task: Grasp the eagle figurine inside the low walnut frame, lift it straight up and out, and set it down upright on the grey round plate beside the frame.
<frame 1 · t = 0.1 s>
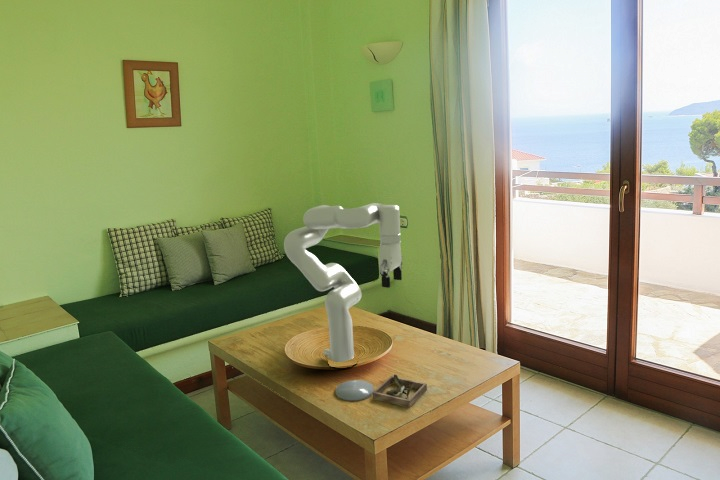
hand: (392, 283, 219), 37 cm above the table, tool pointing down, fingers open, 9 cm apart
eagle figurine: (399, 395, 211), on the table
walnut frame: (400, 394, 211), on the table
grey round plate: (354, 391, 215), on the table
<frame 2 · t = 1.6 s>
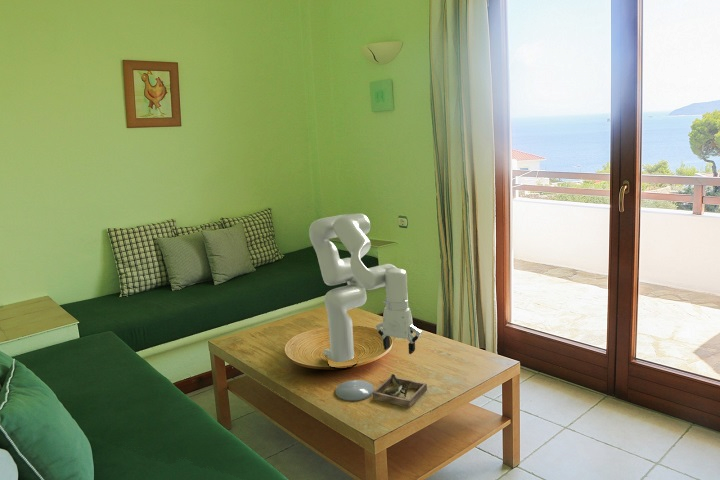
hand: (399, 350, 207), 17 cm above the table, tool pointing down, fingers open, 9 cm apart
nothing on the table moved.
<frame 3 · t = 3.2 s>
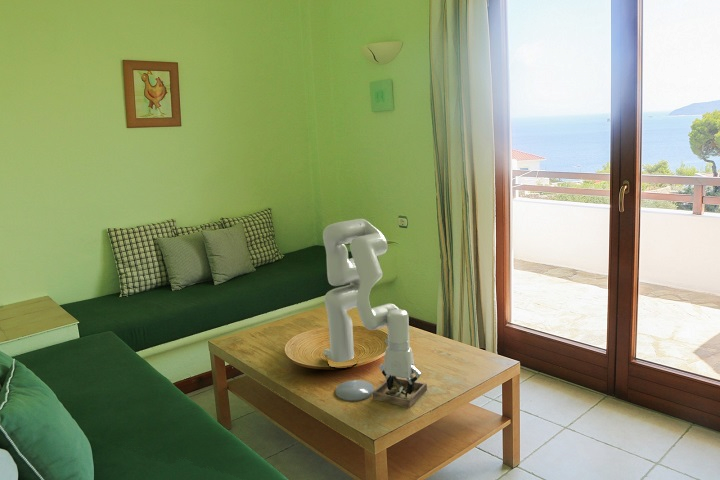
hand: (400, 390, 210), 2 cm above the table, tool pointing down, fingers closed on eagle figurine, 7 cm apart
eagle figurine: (397, 395, 211), on the table, touching gripper
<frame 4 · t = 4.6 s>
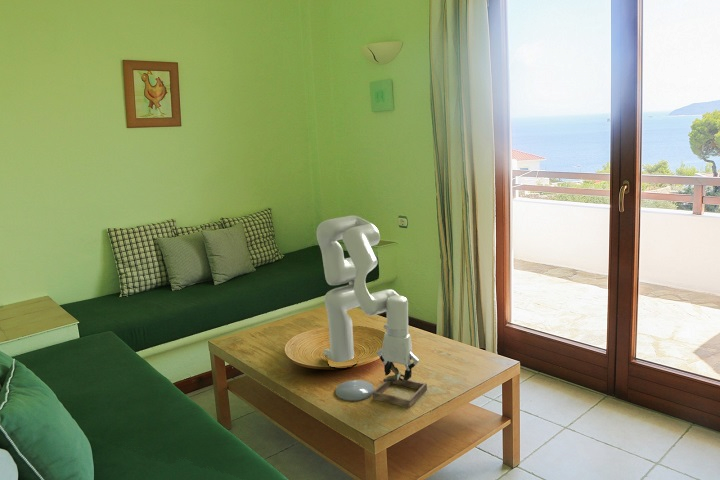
hand: (397, 376, 210), 7 cm above the table, tool pointing down, fingers closed on eagle figurine, 7 cm apart
eagle figurine: (395, 382, 211), point 4 cm above the table, touching gripper
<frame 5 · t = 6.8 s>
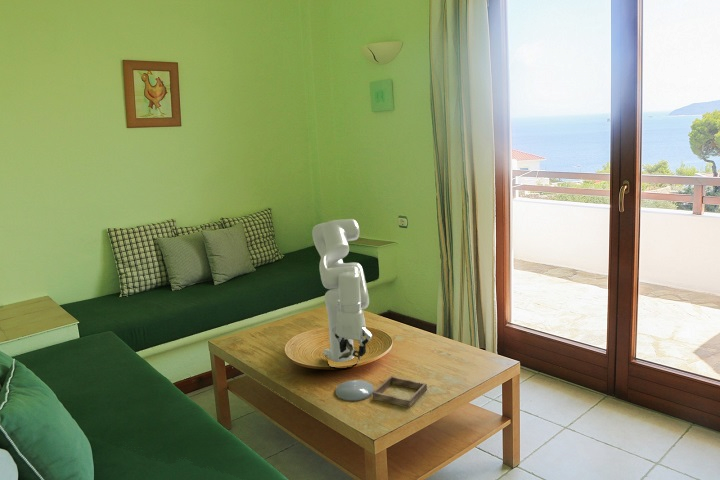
hand: (352, 352, 211), 15 cm above the table, tool pointing down, fingers closed on eagle figurine, 7 cm apart
eagle figurine: (351, 358, 212), point 13 cm above the table, touching gripper
when the fingers open (4 cm above the table, at t = 9.3 s): eagle figurine stays where it is, resting on grey round plate.
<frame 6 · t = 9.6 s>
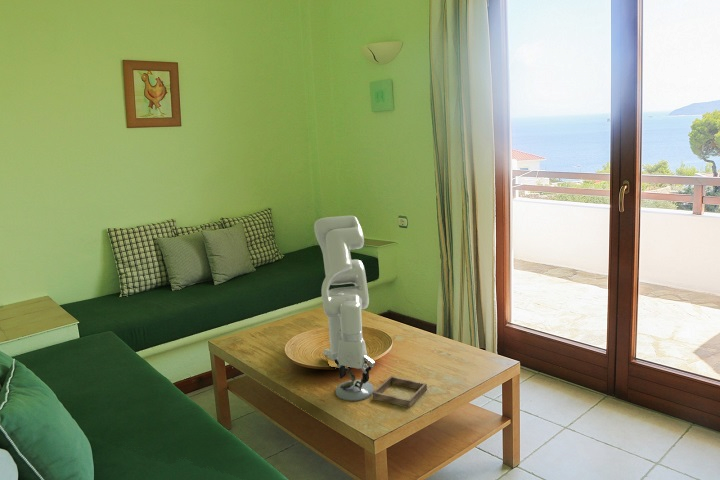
hand: (354, 379, 213), 5 cm above the table, tool pointing down, fingers open, 9 cm apart
eagle figurine: (352, 388, 215), point 1 cm above the table, touching grey round plate
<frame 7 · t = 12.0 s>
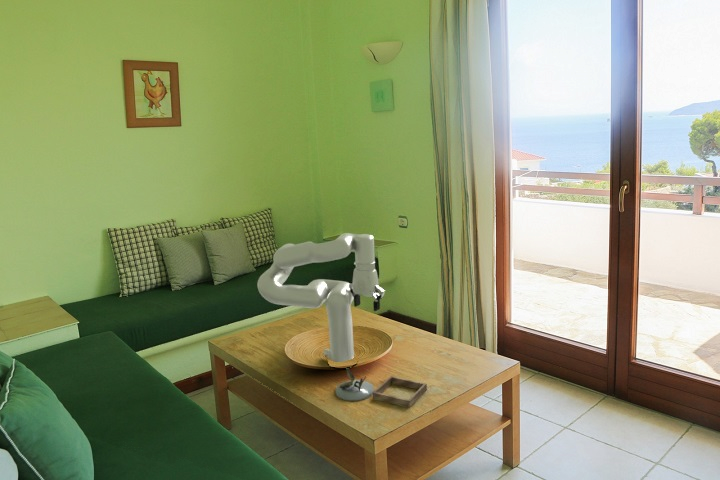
hand: (366, 307, 231), 24 cm above the table, tool pointing down, fingers open, 9 cm apart
nothing on the table moved.
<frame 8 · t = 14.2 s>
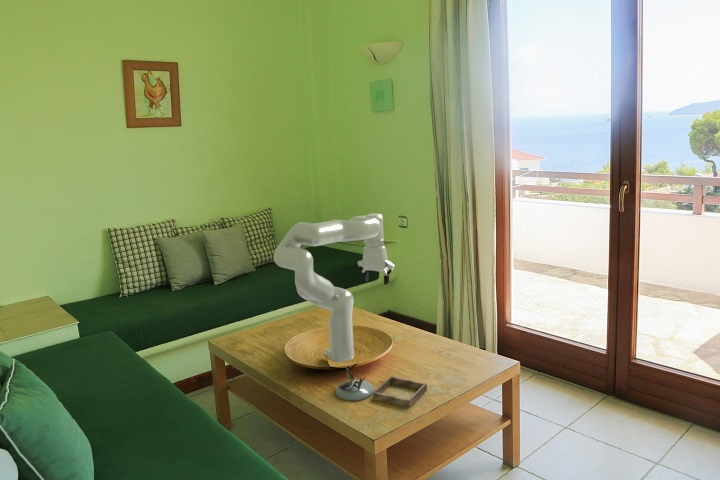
hand: (376, 282, 248), 28 cm above the table, tool pointing down, fingers open, 9 cm apart
nothing on the table moved.
at the end: eagle figurine 1.6 cm off-centre on the grey round plate, point 0.8 cm above the grey round plate's base; eagle figurine tilted 2°; the gripper is holding nothing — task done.
